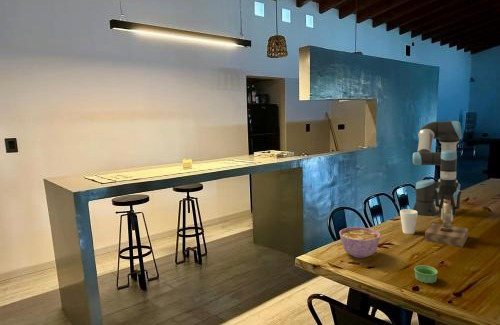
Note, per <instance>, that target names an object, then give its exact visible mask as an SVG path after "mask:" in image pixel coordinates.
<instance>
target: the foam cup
mask: <svg viewBox="0 0 500 325" xmlns="http://www.w3.org/2000/svg"><path fill="white" fill-rule="evenodd" d="M399 215H400V222H401V230H402V233H403V234H406V235H414V234H415V232H416V226H417V220H418V212H417V211H415V210H413V209H408V208H407V209H406V208H404V209H401V210H400V211H399Z"/></svg>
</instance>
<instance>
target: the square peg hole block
mask: <svg viewBox="0 0 500 325" xmlns="http://www.w3.org/2000/svg"><path fill="white" fill-rule="evenodd" d="M468 237H469V228H467V227H460V226H454V225H451V228H445V227H443V224H442V223H441V224H439V223H433V222H432V223H431V225H430V226H429V227H427V229H426V230H425V232H424V241H426V242H431V243H437V244H442V245H448V246H453V247H460V248H464V245H465V244H466V242H467V239H468Z"/></svg>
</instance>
